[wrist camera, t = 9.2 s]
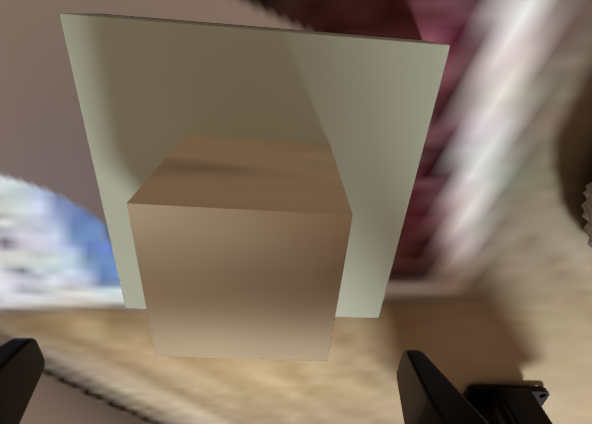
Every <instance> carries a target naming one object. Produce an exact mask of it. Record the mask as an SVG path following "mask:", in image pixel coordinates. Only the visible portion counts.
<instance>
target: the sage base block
mask: <svg viewBox="0 0 592 424" xmlns="http://www.w3.org/2000/svg"><path fill="white" fill-rule="evenodd" d="M59 15H60V19H61V23H62V28H63V32H64V36H65V41H66V46H67V50H68V54H69V58H70V63H71V67H72V72H73V77H74V81H75V86H76V90H77V94H78V99H79V103H80V108H81V112H82V117H83V121H84V125H85V130H86V134H87V139H88V143H89V148H90V152H91V156H92V161H93V165H94V170H95V174H96V178H97V183H98V187H99V192H100V196H101V201H102V205H103V209H104V214H105V218H106V223H107V227H108V232H109V236H110V240H111V245H112V249H113V254H114V258H115V263H116V267H117V271H118V276H119V280H120V285H121V289H122V294H123V298H124V302H125V307H126V308H138V309H146V304H145V298H144V293H143V288H142V283H141V277H140V272H139V267H138V261H137V256H136V251H135V246H134V240H133V235H132V230H131V225H130V219H129V214H128V209H127V204H126V203H127V202H128V201H129V200H130V199H131V198H132V196H133V195H134V194H135V193H136V192H137V191H138V189H139V188H140V187H141V186H142V185H143V184H144V182H145V181H146V180H147V179H148V178H149V177H150V175H151V174H152V173H153V172H154V171H155V170H156V168H157V167H158V166H159V165H160V164H161V163H162V161H163V160H164V159H165V158H166V157H167V156H168V155H169V153H170V152H171V151H172V150H173V149H174V148H175V146H176V145H177V144H178V143H179V142H180V141H181V139H182V138H183V137H184V136H185V135H196V136H212V137H228V138H244V139H260V140H276V141H291V142H307V143H323V144H330V145H331V149H332V152H333V155H334V158H335V161H336V164H337V167H338V170H339V174H340V177H341V180H342V183H343V186H344V189H345V192H346V195H347V199H348V202H349V205H350V208H351V211H352V214H353V217H352V223H351V229H350V235H349V240H348V246H347V252H346V258H345V263H344V269H343V275H342V281H341V286H340V292H339V298H338V303H337V309H336V315H335V316H340V317H365V318H379V314H380V311H381V307H382V303H383V299H384V295H385V292H386V288H387V284H388V280H389V276H390V272H391V269H392V265H393V261H394V257H395V253H396V250H397V246H398V242H399V238H400V234H401V231H402V227H403V223H404V219H405V215H406V212H407V208H408V204H409V200H410V196H411V193H412V189H413V185H414V181H415V177H416V174H417V170H418V166H419V162H420V158H421V155H422V151H423V147H424V143H425V139H426V136H427V132H428V128H429V124H430V120H431V116H432V113H433V109H434V105H435V101H436V97H437V94H438V90H439V86H440V82H441V78H442V75H443V71H444V67H445V63H446V59H447V56H448V52H449V48H450V45H445V44H440V43H435V42H429V41H424V40H413V39H401V38H389V37H377V36H365V35H353V34H340V33H328V32H316V31H304V30H292V29H279V28H267V27H255V26H243V25H231V24H219V23H205V22H194V21H182V20H169V19H158V18H146V17H134V16H120V15H109V14H59Z"/></svg>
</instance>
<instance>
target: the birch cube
mask: <svg viewBox="0 0 592 424" xmlns="http://www.w3.org/2000/svg"><path fill="white" fill-rule="evenodd" d="M126 204H127V209H128V214H129V219H130V225H131V230H132V235H133V240H134V246H135V251H136V256H137V261H138V267H139V272H140V277H141V283H142V288H143V293H144V298H145V304H146V309H147V314H148V319H149V325H150V330H151V335H152V340H153V346H154V351H155V356H172V357H204V358H236V359H268V360H300V361H328V355H329V349H330V344H331V338H332V332H333V326H334V321H335V315H336V309H337V303H338V298H339V292H340V286H341V281H342V275H343V269H344V263H345V258H346V252H347V246H348V240H349V235H350V229H351V223H352V217H353V214H352V211H351V208H350V205H349V202H348V199H347V195H346V192H345V189H344V186H343V183H342V180H341V177H340V174H339V170H338V167H337V164H336V161H335V158H334V155H333V152H332V149H331V145H330V144H323V143H307V142H291V141H276V140H260V139H244V138H228V137H212V136H196V135H185V136H184V137H183V138H182V139H181V141H180V142H179V143H178V144H177V145H176V146H175V148H174V149H173V150H172V151H171V152H170V153H169V155H168V156H167V157H166V158H165V159H164V160H163V161H162V163H161V164H160V165H159V166H158V167H157V168H156V170H155V171H154V172H153V173H152V174H151V175H150V177H149V178H148V179H147V180H146V181H145V182H144V184H143V185H142V186H141V187H140V188H139V189H138V191H137V192H136V193H135V194H134V195H133V196H132V198H131V199H130V200H129V201H128V202H127V203H126Z"/></svg>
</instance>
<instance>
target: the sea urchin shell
mask: <svg viewBox="0 0 592 424" xmlns="http://www.w3.org/2000/svg"><path fill="white" fill-rule="evenodd" d="M583 194H584V195H585V197H586V198H587V200H586V201H585V202H584V203H583V204H582V208H583V209H584V213H583V215H582V217H583V218H585V219H586V220H587V221H588V223H587V224H586V226H585V227H584V230H585V231H586V232H587V233H588V236H589V241H588V245H589V246H590V247H592V183H590V184H588V185H586V191H584V192H583Z"/></svg>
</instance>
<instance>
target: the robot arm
mask: <svg viewBox="0 0 592 424" xmlns="http://www.w3.org/2000/svg"><path fill="white" fill-rule="evenodd" d="M44 365H45V360H44V357H43V355H42V353H41V350H40V348H39V346H38V343H37V341H36V340H35V339H33V338H14V339H12V340H10V341H8V342H7V343H5V344H4V345H2V346H0V424H19V423H20V421H21V419H22V417H23V414H24V412H25V410H26V408H27V405H28V403H29V401H30V399H31V397H32V394H33V392H34V390H35V388H36V385H37V383H38V381H39V379H40V377H41V374H42V372H43V370H44ZM397 382H398V388H399V394H400V400H401V405H402V411H403V417H404V423H405V424H552V422H551V421H550V419H549V418H548V416H547V414H546V413H545V411H544V410H543V408H542V407H541V406H542V405H543V404H544V402H545V401H546V399H547V398H548V396H549V393H548V391H547V390H546V388H544V387H518V386H485V385H473V386H470V387H468V388H467V390H466V392H465V394H464V396H463V395H462V394H461V393H460V392H459V391H458V390H457V389H456V388H455V387H454V386H453V385H452V383H451V382H450V381H449V380H448V379H447V378H446V377H445V376H444V375H443V374H442V373H441V372H440V370H439V369H438V368H437V367H436V366H435V365H434V364H433V363H432V362H431V361H430V360H429V359H428V357H427V356H426V355H425V354H424V353H423V352H421V351H418V350H406V351H404V353H403V355H402V358H401V361H400V364H399V367H398V370H397Z"/></svg>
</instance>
